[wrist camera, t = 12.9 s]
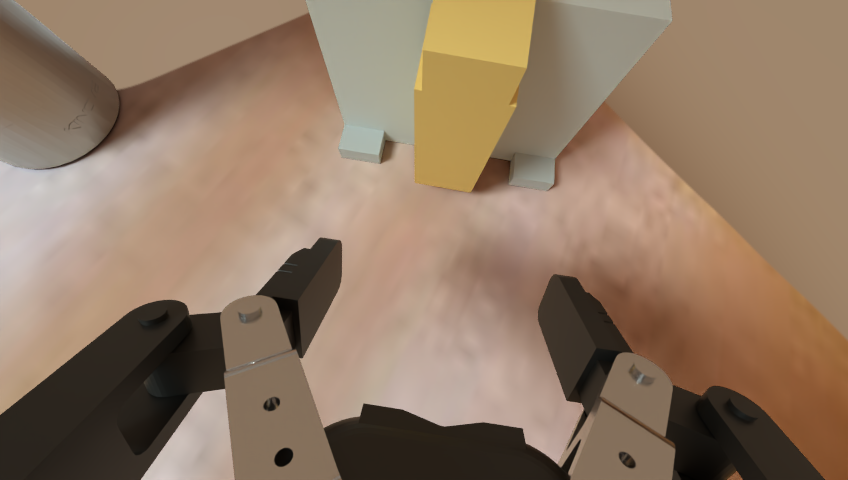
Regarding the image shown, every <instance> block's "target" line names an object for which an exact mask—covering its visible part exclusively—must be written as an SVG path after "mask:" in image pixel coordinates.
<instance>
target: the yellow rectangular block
mask: <svg viewBox="0 0 848 480" xmlns="http://www.w3.org/2000/svg"><path fill="white" fill-rule="evenodd" d="M535 2H536V0H433V3H431V8H430V13H429V18H428V23H427V28H426V33H425V38H424V43H423V48H422V53H421V58H420V63H419V67H418V72H417V77H416V82H415V87H414V149H415V183H419V184H425V185H431V186H436V187H442V188H448V189H453V190H459V191H465V192H470V193H471V191H472V189H473V187H474V185H475V183H476V182H477V180H478V178H479V176H480V174H481V172H482V170H483V168H484V167H485V165H486V163H487V161H488V159H489V157H490V155H491V153H492V152H493V150H494V148H495V146H496V144H497V142H498V140H499V138H500V137H501V135H502V133H503V131H504V129H505V127H506V125H507V123H508V122H509V120H510V118H511V116H512V114H513V112H514V110H515V108H516V105H517V98H518V90H519V83H520V81H521V79H522V77H523V75H524V73H525V71H526V69H527V64H528V56H529V48H530V41H531V33H532V25H533V18H534V10H535Z"/></svg>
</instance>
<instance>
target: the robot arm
mask: <svg viewBox="0 0 848 480" xmlns="http://www.w3.org/2000/svg"><path fill="white" fill-rule="evenodd" d="M118 111H119V97H118V93H117V91H116V89H115V87H114V85H113V84H112V83H111V81H110V80H109V79H108V78H107V77H106V76H104V75H103V74H102V73H101V72H100V71H98V70H97V69H96V68H95V67H93V66H92V65H91V64H90V63H89V62H88V61H86V60H85V59H84V58H83V57H82V56H80V55H79V54H78V53H77V52H76V51H74V50H73V49H72V48H70V46H68V45H67V44H66V43H65V42H63V41H62V40H61V39H60V38H59V37H57V36H56V35H55V34H54V33H53V32H52V31H51V30H49V29H48V28H47V27H46V26H45V25H43V24H42V23H41V22H40V21H38V20H37V19H36V18H35V17H34V16H32V15H31V14H30V13H29V12H28V11H27V10H25V9H24V8H23V7H21V5H19V4H18V3H17V2H16V1H14V0H0V161H3V162H5V163H8V164H10V165H13V166H15V167H20V168H26V169H45V168H50V167H56V166H60V165H63V164H65V163H68V162H71V161H73V160H75V159H77V158H79V157H81V156H83V155H85V154H86V153H88V152H89V151H90V150H92V149H93V148H94V147H96V146H97V145H98V144H99V143H100V142H101V141H102V140H103V139H104V138H105V137H106V136H107V134H108V133H109V131H110V130H111V128H112V127H113V125H114V123H115V121H116V118H117V116H118ZM341 277H342V243H341V241H340V240H334V239H327V238H319V239H318V240H317V242H316V243H315V244H314V245H313V247H312V248H311V249H306V248H303V249H301V250H299V251H298V252H296V253H294V254H292V255H291V256H290V257H289V258H288V260H287V261H286V262H285V264H283V265H282V266H281V267H280V269H279V270H278V271H277V272H276V273H275V274H274V275H273V276H272V278H271V279H270V280H269V281H268V282H267V283H266V284H265V285H264V287H263V288H262V289H261V290H260V291H259V292H258V293H257V294H256V295H253V296H247V297H243V298H240V299H237V300H235V301H233V302H232V303H230V304H229V305H228V306H226V307H225V309H224V310H223V311H222V312H220V313H208V314H195V315H189V311H188V308H187V306H186V305H185V304H184V303H182V302H180V301H176V300H162V301H156V302H152V303H148V304H145V305H143V306H140V307H138V308H136V309H134V310H132V311H131V312H129V313H128V314H126V315H125V316H124V317H123V318H121V319H120V320H119V321H118V322H116V323H115V324H114V325H113V326H111V327H110V328H109V329H108V330H106V331H105V332H104V333H103V334H101V335H100V336H99V337H98V338H96V339H95V340H94V341H93V342H91V343H90V344H89V345H87V346H86V347H85V348H84V349H82V350H81V351H80V352H79V353H77V354H76V355H75V356H74V357H72V358H71V359H70V360H69V361H67V362H66V363H65V364H64V365H62V366H61V367H60V368H59V369H57V370H56V371H55V372H54V373H52V374H51V375H50V376H49V377H47V378H46V379H45V380H44V381H42V382H41V383H40V384H39V385H37V386H36V387H35V388H34V389H32V390H31V391H30V392H29V393H27V394H26V395H25V396H24V397H22V398H21V399H20V400H19V401H17V402H16V403H15V404H14V405H12V406H11V407H10V408H9V409H7V410H6V411H5V412H4V413H2V414H1V415H0V480H141V478H142V477H143V476H144V474H145V473H146V471H147V470H148V468H149V467H150V466H151V464H152V463H153V461H154V460H155V459H156V457H157V456H158V454H159V453H160V452H161V450H162V449H163V447H164V446H165V445H166V443H167V442H168V440H169V439H170V438H171V436H172V435H173V433H174V432H175V430H176V429H177V428H178V426H179V425H180V423H181V422H182V421H183V419H184V418H185V416H186V415H187V414H188V412H189V411H190V409H191V408H192V407H193V405H194V404H195V402H196V401H197V399H198V398H199V397H200V395H201V394H202V392H205V391H213V390H220V389H225V390H226V400H227V410H228V419H229V429H230V438H231V448H232V457H233V467H234V476H235V480H727V479H728V478H729V477H730V476H731V475H733V474H734V473H735V472H736V471H738V473H739V474H740V476H741V477H742V479H743V480H825V479H824V478H823V477H822V476H821V474H820V473H819V472H818V471H817V470H816V469H815V468H814V467H813V465H812V464H811V463H810V462H809V461H808V460H807V459H806V457H805V456H804V455H803V454H802V453H801V452H800V451H799V449H798V448H797V447H796V446H795V445H794V444H793V443H792V442H791V440H790V439H789V438H788V437H787V436H786V435H785V434H784V432H783V431H782V430H781V429H780V428H779V427H778V426H777V425H776V423H775V422H774V421H773V420H772V419H771V418H770V417H769V416H768V414H767V413H766V412H765V411H763V410H762V409H761V408H760V407H759V406H758V405H756V404H755V403H754V402H752V401H751V400H749V399H748V398H746V397H745V396H743V395H741V394H739V393H737V392H735V391H733V390H730V389H728V388H724V387H720V386H712V387H710V388H708V389H707V391H706V392H705V393H704V394H703V395H702V396H699V395H697V394H694V393H692V392H689V391H687V390H684V389H682V388H679V387H676V386H674V385H672V382H671V380H670V379H669V377H668V376H667V375H666V373H665V372H664V371H663V370H662V369H661V368H660V367H658V366H657V365H656V364H654V363H653V362H651V361H650V360H648V359H646V358H644V357H642V356H640V355H637V354H634V353H633V352H632V350H631V349H630V347H629V346H628V344H627V343H626V341H625V340H624V338H623V336H622V335H621V333H620V332H619V330H618V329H617V327H616V326H615V325H614V324H613V321H612V320H611V318H610V317H609V316H608V315H607V312H606V311H605V309H604V308H603V306H602V305H601V303H600V302H599V301H598V300H597V299H595V298H594V297H593V296H592V295H591V294H590V293H587V292H585V290H584V289H583V287H582V286H581V284H580V282H579V281H578V279H577V278H575V277H570V276H563V275H557V274H555V275H553V276H552V277H551V279H550V281H549V284H548V286H547V289H546V291H545V294H544V296H543V299H542V301H541V304H540V306H539V310H538V321H539V324H540V327H541V330H542V333H543V336H544V338H545V341H546V344H547V347H548V350H549V352H550V355H551V358H552V361H553V364H554V367H555V369H556V372H557V375H558V378H559V381H560V383H561V386H562V389H563V392H564V395H565V397H566V400H567V401H571V402H578V403H582V405H583V407H584V410H583V411H582V413H581V415H580V416H579V419H578V421H577V423H576V425H575V428H574V430H573V432H572V434H571V436H570V439H569V441H568V443H567V445H566V447H565V450H564V452H563V454H562V456H561V458H560V460H559V462H558V464H556V463H555V462H554V461H553V460H552V459H550V458H549V457H548V456H546V455H545V454H543V453H542V452H541V451H539V450H537V449H535V448H534V447H532V446H530V445H528V444H526V443H525V438H524V433H523V429H522V428H516V427H509V426H503V425H497V424H490V423H484V422H483V423H474V424H465V425H456V426H447V427H444V426H439V425H437V424H435V423H432V422H430V421H428V420H425V419H423V418H421V417H418V416H416V415H414V414H411V413H409V412H407V411H404V410H401V409H395V408H389V407H382V406H376V405H370V404H363V408H362V411H361V415H360V417H353V418H349V419H345V420H341V421H339V422H336V423H333V424H331V425H329V426H327V427H325V428H323V425H322V423H321V420H320V417H319V414H318V411H317V408H316V405H315V402H314V399H313V396H312V394H311V391H310V388H309V385H308V382H307V379H306V376H305V373H304V370H303V367H302V365H301V362H300V359H299V358H303V357H304V355H305V353H306V351H307V349H308V347H309V345H310V343H311V341H312V339H313V337H314V336H315V334H316V332H317V330H318V328H319V326H320V324H321V322H322V320H323V318H324V317H325V315H326V313H327V311H328V309H329V307H330V305H331V303H332V301H333V299H334V297H335V296H336V294H337V292H338V290H339V287H340V283H341Z"/></svg>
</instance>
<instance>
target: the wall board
mask: <svg viewBox="0 0 848 480" xmlns="http://www.w3.org/2000/svg"><path fill="white" fill-rule="evenodd" d="M305 1H306V4H307V7H308V10H309V14H310V17H311V20H312V23H313V26H314V29H315V32H316V36H317V39H318V42H319V45H320V48H321V51H322V54H323V58H324V61H325V64H326V67H327V70H328V73H329V76H330V80H331V83H332V86H333V89H334V92H335V95H336V98H337V102H338V105H339V108H340V111H341V114H342V117H343V120H344V124H345V126H344V129H343V133H342V137H341V140H340V144H339V148H338V149H339V152H340V154H341V157H343V158H349V159H355V160H361V161H367V162H373V163H379V164H380V162H381V158H382V153H383V149H384V144H385V140H387V141H393V142H399V143H405V144H411V145H414V87H415V82H416V77H417V72H418V67H419V63H420V58H421V53H422V48H423V43H424V38H425V33H426V28H427V23H428V18H429V13H430V8H431V3H433V0H305ZM671 22H672V11H671V1H670V0H536V2H535V10H534V18H533V25H532V33H531V41H530V48H529V56H528V64H527V69H526V71H525V73H524V75H523V77H522V79H521V81H520V83H519V90H518V98H517V105H516V108H515V110H514V112H513V114H512V116H511V118H510V120H509V122H508V123H507V125H506V127H505V129H504V131H503V133H502V135H501V137H500V138H499V140H498V142H497V144H496V146H495V148H494V150H493V152H492V153H491V155H490V157H491V158H497V159H503V160H509V161H511V162H510V173H509V185H514V186H520V187H526V188H532V189H538V190H544V191H548V189H549V188H550V187H551V186H552V185H553V184H554V172H555V158H556V157H557V156H558V155H559V154H560V152H561V151H562V150H563V149H564V148H565V147H566V145H567V144H568V143H569V142H570V141H571V140H572V138H573V137H574V136H575V135H576V134H577V132H578V131H579V130H580V129H581V128H582V127H583V125H584V124H585V123H586V122H587V121H588V120H589V118H590V117H591V116H592V115H593V114H594V112H595V111H596V110H597V109H598V108H599V107H600V105H601V104H602V103H603V102H604V101H605V100H606V98H607V97H608V96H609V95H610V94H611V92H612V91H613V90H614V89H615V88H616V87H617V85H618V84H619V83H620V82H621V81H622V80H623V78H624V77H625V76H626V75H627V74H628V72H629V71H630V70H631V69H632V68H633V67H634V65H635V64H636V63H637V62H638V61H639V60H640V58H641V57H642V56H643V55H644V53H646V51H647V50H648V49H649V48H650V47H651V45H652V44H653V43H654V42H655V41H656V40H657V38H658V37H659V36H660V35H661V34H662V33H663V31H664V30H665V29H666V27H668V25H669V24H670V23H671Z"/></svg>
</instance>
